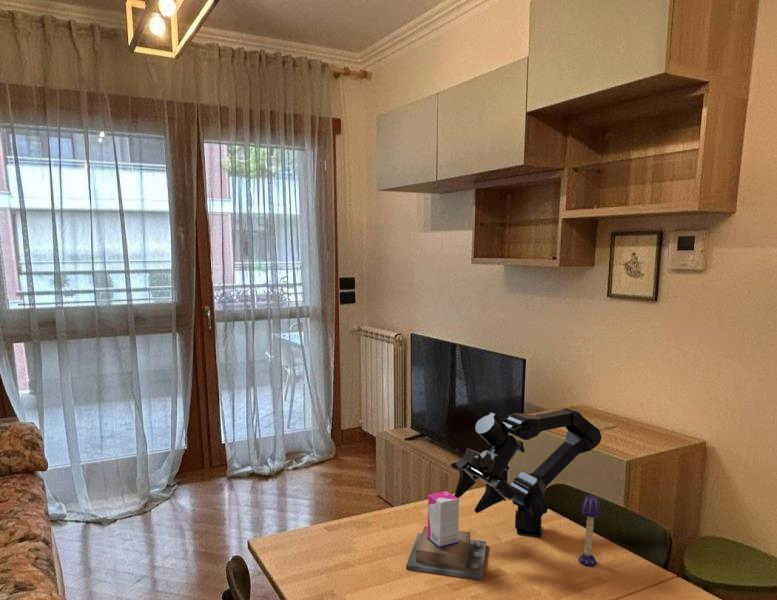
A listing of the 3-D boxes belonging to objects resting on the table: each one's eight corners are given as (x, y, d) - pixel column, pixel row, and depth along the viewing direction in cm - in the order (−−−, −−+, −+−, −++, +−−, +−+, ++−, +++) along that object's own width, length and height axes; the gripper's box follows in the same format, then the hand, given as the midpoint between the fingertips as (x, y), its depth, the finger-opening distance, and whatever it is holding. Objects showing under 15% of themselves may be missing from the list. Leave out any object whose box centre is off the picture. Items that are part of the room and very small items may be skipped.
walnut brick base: (486, 545, 140) (486, 530, 140) (482, 580, 124) (482, 563, 124) (418, 536, 144) (418, 521, 144) (406, 569, 129) (406, 552, 128)
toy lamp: (598, 559, 134) (601, 494, 132) (599, 569, 129) (602, 502, 128) (578, 556, 135) (580, 491, 134) (578, 565, 131) (580, 499, 130)
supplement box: (459, 543, 133) (460, 498, 132) (439, 549, 130) (439, 503, 129) (445, 533, 138) (446, 489, 137) (426, 538, 135) (427, 494, 134)
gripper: (461, 428, 147) (427, 474, 143) (504, 448, 130) (467, 501, 126) (485, 451, 151) (452, 497, 147) (530, 474, 134) (494, 526, 130)
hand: (465, 504), depth 137 cm, fingers open, 9 cm apart
